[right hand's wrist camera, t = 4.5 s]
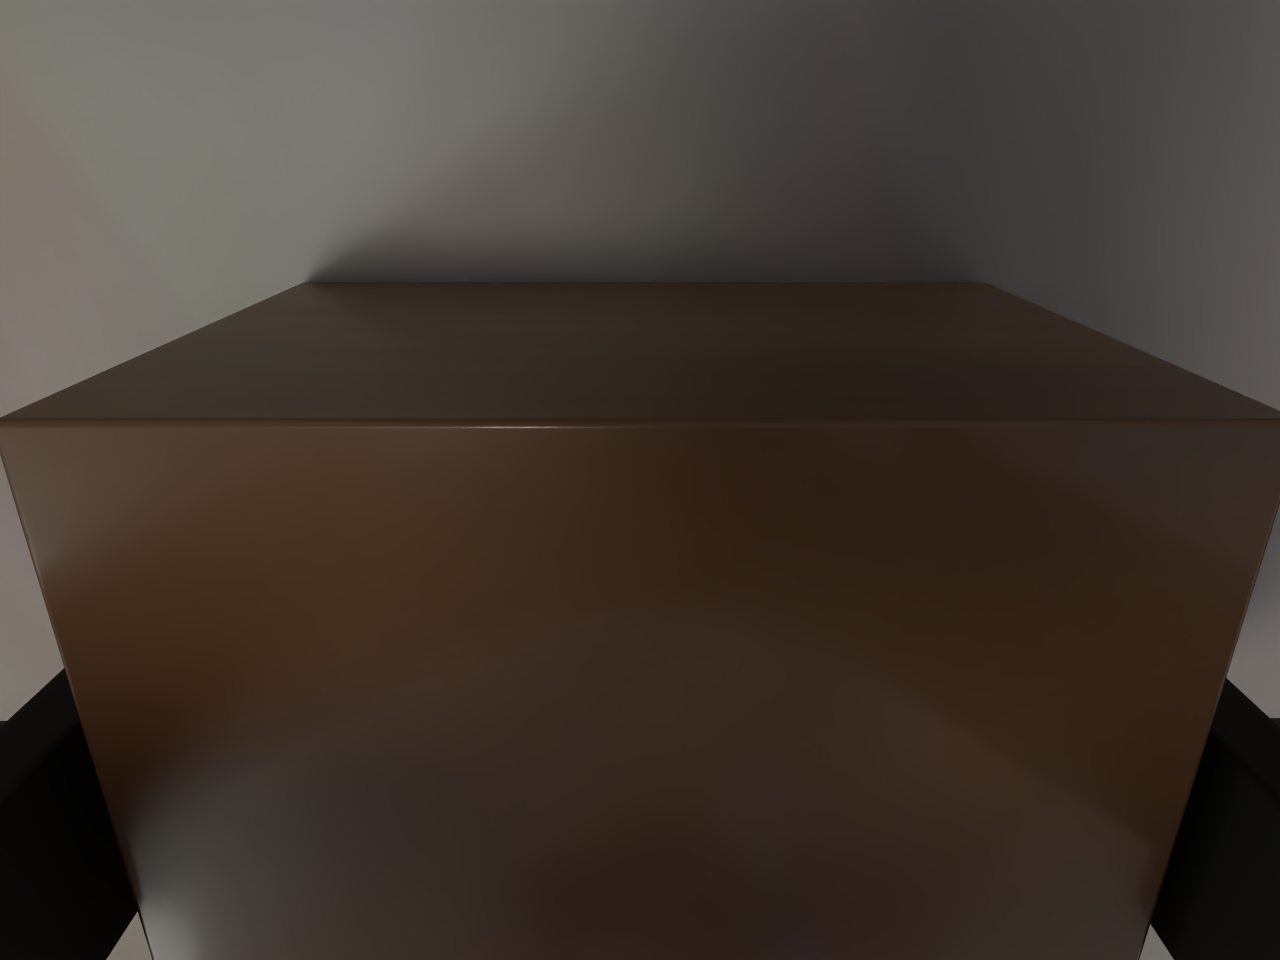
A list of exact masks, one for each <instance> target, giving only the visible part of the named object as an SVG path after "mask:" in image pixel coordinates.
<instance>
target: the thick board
mask: <svg viewBox="0 0 1280 960" xmlns="http://www.w3.org/2000/svg"><path fill="white" fill-rule="evenodd" d="M0 455H1V458H2V462H3V465H4V468H5V471H6V475H7V478H8V481H9V485H10V488H11V491H12V495H13V498H14V501H15V505H16V508H17V511H18V515H19V518H20V521H21V525H22V528H23V531H24V535H25V538H26V541H27V545H28V548H29V551H30V555H31V558H32V561H33V565H34V568H35V571H36V574H37V578H38V581H39V584H40V588H41V591H42V594H43V598H44V601H45V604H46V608H47V611H48V614H49V618H50V621H51V624H52V628H53V631H54V634H55V638H56V641H57V644H58V648H59V651H60V654H61V658H62V661H63V664H64V668H65V671H66V674H67V678H68V681H69V684H70V687H71V691H72V694H73V697H74V701H75V704H76V707H77V711H78V714H79V717H80V721H81V724H82V727H83V731H84V734H85V737H86V741H87V744H88V747H89V751H90V754H91V757H92V761H93V764H94V767H95V771H96V774H97V777H98V781H99V784H100V787H101V790H102V794H103V797H104V800H105V804H106V807H107V810H108V814H109V817H110V820H111V824H112V827H113V830H114V834H115V837H116V840H117V844H118V847H119V850H120V854H121V857H122V860H123V864H124V867H125V870H126V874H127V877H128V880H129V884H130V887H131V890H132V894H133V897H134V900H135V903H136V907H137V910H138V913H139V917H140V920H141V923H142V927H143V930H144V933H145V937H146V940H147V943H148V947H149V950H150V953H151V957H152V960H1139V958H1140V955H1141V952H1142V949H1143V946H1144V942H1145V939H1146V936H1147V933H1148V929H1149V926H1150V923H1151V920H1152V916H1153V913H1154V910H1155V907H1156V903H1157V900H1158V897H1159V894H1160V890H1161V887H1162V884H1163V881H1164V877H1165V874H1166V871H1167V868H1168V864H1169V861H1170V858H1171V855H1172V851H1173V848H1174V845H1175V842H1176V838H1177V835H1178V832H1179V829H1180V825H1181V822H1182V819H1183V816H1184V812H1185V809H1186V806H1187V803H1188V799H1189V796H1190V793H1191V790H1192V786H1193V783H1194V780H1195V777H1196V773H1197V770H1198V767H1199V764H1200V760H1201V757H1202V754H1203V751H1204V747H1205V744H1206V741H1207V738H1208V734H1209V731H1210V728H1211V725H1212V721H1213V718H1214V715H1215V712H1216V708H1217V705H1218V702H1219V699H1220V695H1221V692H1222V689H1223V686H1224V682H1225V679H1226V676H1227V673H1228V669H1229V666H1230V663H1231V660H1232V656H1233V653H1234V650H1235V647H1236V643H1237V640H1238V637H1239V634H1240V630H1241V627H1242V624H1243V621H1244V617H1245V614H1246V611H1247V608H1248V604H1249V601H1250V598H1251V595H1252V591H1253V588H1254V585H1255V582H1256V579H1257V575H1258V572H1259V569H1260V566H1261V562H1262V559H1263V556H1264V553H1265V549H1266V546H1267V543H1268V540H1269V536H1270V533H1271V530H1272V527H1273V523H1274V520H1275V517H1276V514H1277V510H1278V507H1279V504H1280V411H1279V410H1276V409H1274V408H1272V407H1269V406H1267V405H1265V404H1263V403H1260V402H1258V401H1256V400H1253V399H1251V398H1249V397H1247V396H1244V395H1242V394H1240V393H1237V392H1235V391H1233V390H1230V389H1228V388H1226V387H1224V386H1221V385H1219V384H1217V383H1214V382H1212V381H1210V380H1207V379H1205V378H1203V377H1201V376H1198V375H1196V374H1194V373H1191V372H1189V371H1187V370H1184V369H1182V368H1180V367H1178V366H1175V365H1173V364H1171V363H1168V362H1166V361H1164V360H1161V359H1159V358H1157V357H1155V356H1152V355H1150V354H1148V353H1145V352H1143V351H1141V350H1139V349H1136V348H1134V347H1132V346H1129V345H1127V344H1125V343H1122V342H1120V341H1118V340H1116V339H1113V338H1111V337H1109V336H1106V335H1104V334H1102V333H1099V332H1097V331H1095V330H1093V329H1090V328H1088V327H1086V326H1083V325H1081V324H1079V323H1076V322H1074V321H1072V320H1070V319H1067V318H1065V317H1063V316H1060V315H1058V314H1056V313H1053V312H1051V311H1049V310H1047V309H1044V308H1042V307H1040V306H1037V305H1035V304H1033V303H1030V302H1028V301H1026V300H1024V299H1021V298H1019V297H1017V296H1014V295H1012V294H1010V293H1008V292H1005V291H1003V290H1001V289H998V288H996V287H994V286H991V285H989V284H987V283H301V284H299V285H297V286H295V287H292V288H290V289H288V290H286V291H283V292H281V293H279V294H277V295H274V296H272V297H270V298H268V299H265V300H263V301H261V302H259V303H256V304H254V305H252V306H250V307H247V308H245V309H243V310H241V311H238V312H236V313H234V314H232V315H229V316H227V317H225V318H223V319H221V320H218V321H216V322H214V323H212V324H209V325H207V326H205V327H203V328H200V329H198V330H196V331H194V332H191V333H189V334H187V335H185V336H182V337H180V338H178V339H176V340H173V341H171V342H169V343H167V344H164V345H162V346H160V347H158V348H155V349H153V350H151V351H149V352H146V353H144V354H142V355H140V356H138V357H135V358H133V359H131V360H129V361H126V362H124V363H122V364H120V365H117V366H115V367H113V368H111V369H108V370H106V371H104V372H102V373H99V374H97V375H95V376H93V377H90V378H88V379H86V380H84V381H81V382H79V383H77V384H75V385H72V386H70V387H68V388H66V389H63V390H61V391H59V392H57V393H54V394H52V395H50V396H48V397H46V398H43V399H41V400H39V401H37V402H34V403H32V404H30V405H28V406H25V407H23V408H21V409H19V410H16V411H14V412H12V413H10V414H7V415H5V416H3V417H1V418H0Z"/></svg>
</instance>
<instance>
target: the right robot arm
mask: <svg viewBox="0 0 1280 960" xmlns="http://www.w3.org/2000/svg"><path fill="white" fill-rule="evenodd" d="M137 911H138V910H137V907H136V903H135V900H134V897H133V894H132V890H131V887H130V884H129V880H128V877H127V874H126V870H125V867H124V864H123V860H122V857H121V854H120V850H119V847H118V844H117V840H116V837H115V834H114V830H113V827H112V824H111V820H110V817H109V814H108V810H107V807H106V804H105V800H104V797H103V794H102V790H101V787H100V784H99V781H98V777H97V774H96V771H95V767H94V764H93V761H92V757H91V754H90V751H89V747H88V744H87V741H86V737H85V734H84V731H83V727H82V724H81V721H80V717H79V714H78V711H77V707H76V704H75V701H74V697H73V694H72V691H71V687H70V684H69V681H68V678H67V674H66V671H65V668H64V669H63V670H62V671H61V672H60V673H59V674H58V675H56V676H55V677H54V678H53V679H52V680H51V681H50V682H49V683H48V684H47V685H46V686H45V687H43V688H42V689H41V690H40V691H39V692H38V693H37V694H36V695H35V696H34V697H33V698H32V699H30V700H29V701H28V702H27V703H26V704H25V705H24V706H23V707H22V708H21V709H20V710H19V711H17V712H16V713H15V714H14V715H13V716H12V717H11V718H10V719H9V720H8V721H0V960H106V959H107V958H108V956H109V954H110V953H111V951H112V950H113V948H114V947H115V945H116V944H117V942H118V941H119V939H120V937H121V936H122V934H123V933H124V931H125V930H126V928H127V927H128V925H129V924H130V922H131V920H132V919H133V917H134V916H135V914H136V913H137ZM1150 924H1151V925H1152V927H1153V928H1154V930H1155V931H1156V933H1157V934H1158V936H1159V937H1160V939H1161V941H1162V942H1163V944H1164V945H1165V947H1166V948H1167V950H1168V951H1169V953H1170V954H1171V956H1172V957H1173V959H1174V960H1280V718H1269V717H1268V716H1267V715H1266V714H1265V713H1264V712H1263V711H1261V710H1260V709H1259V708H1258V707H1257V706H1256V705H1255V704H1254V703H1253V702H1252V701H1251V700H1250V699H1248V698H1247V697H1246V696H1245V695H1244V694H1243V693H1242V692H1241V691H1240V690H1239V689H1238V688H1237V687H1235V686H1234V685H1233V684H1232V683H1231V682H1230V681H1229V680H1228V679H1227V678H1226V679H1225V682H1224V686H1223V689H1222V692H1221V695H1220V699H1219V702H1218V705H1217V708H1216V712H1215V715H1214V718H1213V721H1212V725H1211V728H1210V731H1209V734H1208V738H1207V741H1206V744H1205V747H1204V751H1203V754H1202V757H1201V760H1200V764H1199V767H1198V770H1197V773H1196V777H1195V780H1194V783H1193V786H1192V790H1191V793H1190V796H1189V799H1188V803H1187V806H1186V809H1185V812H1184V816H1183V819H1182V822H1181V825H1180V829H1179V832H1178V835H1177V838H1176V842H1175V845H1174V848H1173V851H1172V855H1171V858H1170V861H1169V864H1168V868H1167V871H1166V874H1165V877H1164V881H1163V884H1162V887H1161V890H1160V894H1159V897H1158V900H1157V903H1156V907H1155V910H1154V913H1153V916H1152V920H1151V923H1150Z"/></svg>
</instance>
